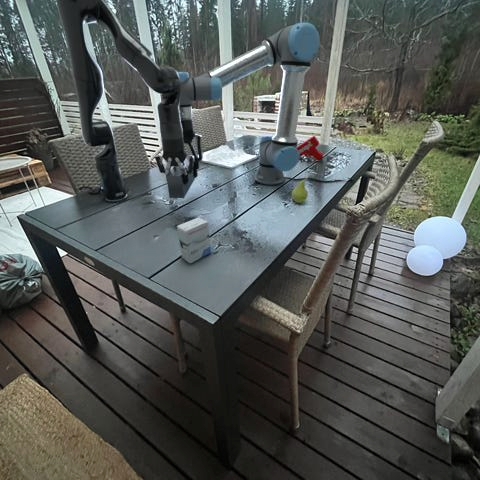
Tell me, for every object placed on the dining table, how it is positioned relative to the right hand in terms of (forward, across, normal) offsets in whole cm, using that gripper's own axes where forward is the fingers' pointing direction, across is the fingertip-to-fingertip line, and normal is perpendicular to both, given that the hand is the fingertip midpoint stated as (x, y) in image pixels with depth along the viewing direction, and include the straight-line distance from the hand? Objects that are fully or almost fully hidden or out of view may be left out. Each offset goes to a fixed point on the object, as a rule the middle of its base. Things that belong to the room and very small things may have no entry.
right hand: (189, 176), depth 118 cm
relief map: (+11, +7, +66) cm, 67 cm away
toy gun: (+11, +61, +64) cm, 89 cm away
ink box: (+11, +10, -42) cm, 45 cm away
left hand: (-3, 0, -18) cm, 18 cm away
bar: (+1, 0, -9) cm, 9 cm away
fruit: (+11, +49, 0) cm, 50 cm away
